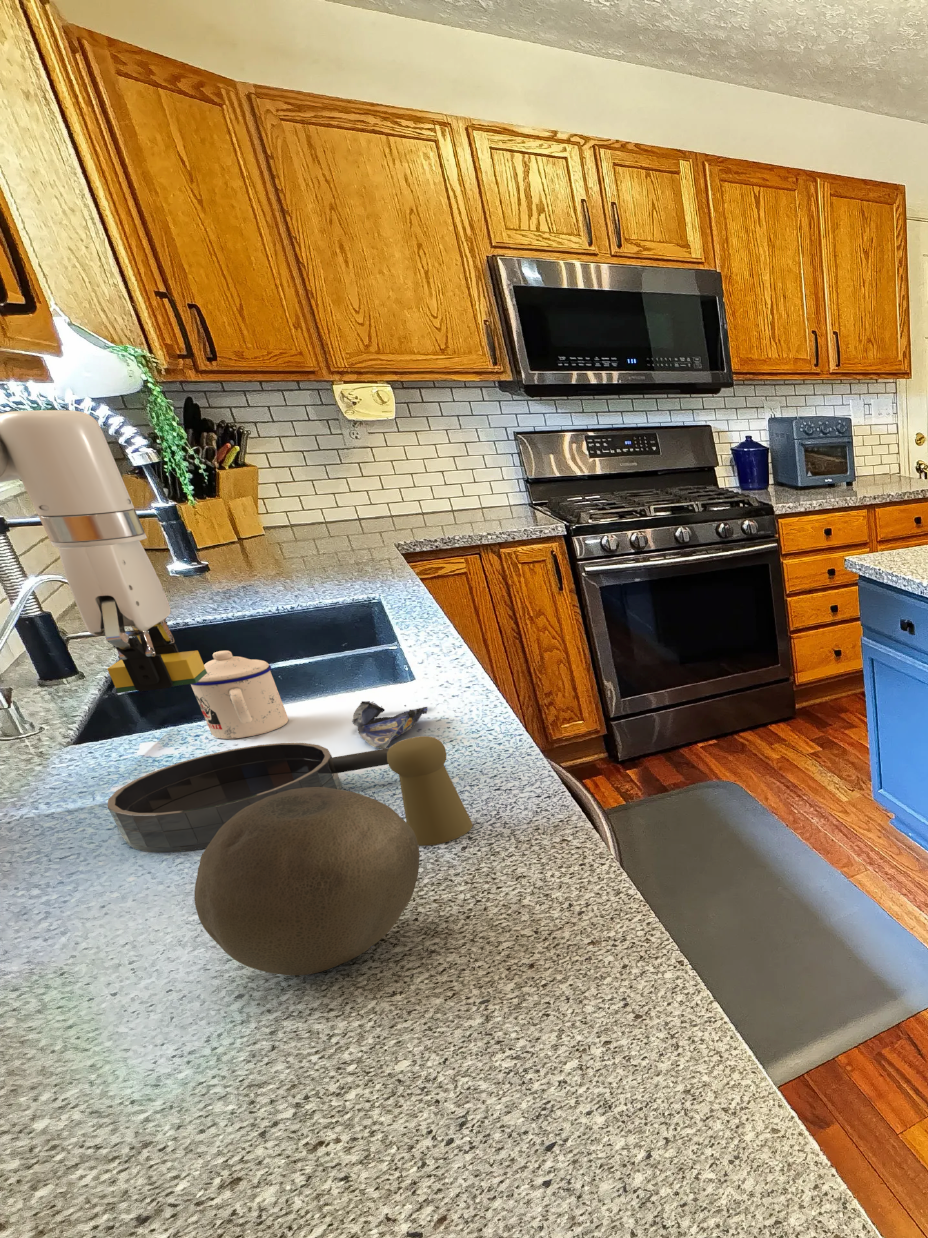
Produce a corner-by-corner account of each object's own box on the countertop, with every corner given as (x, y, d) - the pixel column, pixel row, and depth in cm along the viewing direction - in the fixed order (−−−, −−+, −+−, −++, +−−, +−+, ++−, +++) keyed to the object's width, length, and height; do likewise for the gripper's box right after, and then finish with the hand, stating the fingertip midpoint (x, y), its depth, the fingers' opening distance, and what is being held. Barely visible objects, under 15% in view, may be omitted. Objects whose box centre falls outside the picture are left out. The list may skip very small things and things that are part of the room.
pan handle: (327, 777, 96) (321, 762, 96) (329, 771, 98) (324, 756, 97) (444, 756, 102) (439, 742, 101) (445, 751, 103) (440, 737, 103)
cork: (464, 813, 93) (438, 725, 89) (479, 831, 89) (452, 740, 85) (403, 831, 89) (372, 740, 85) (415, 851, 85) (383, 757, 81)
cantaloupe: (311, 1028, 61) (237, 859, 55) (196, 986, 66) (116, 825, 60) (477, 923, 73) (431, 775, 67) (370, 894, 78) (318, 753, 72)
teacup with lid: (209, 727, 118) (177, 651, 113) (288, 712, 124) (260, 639, 119) (211, 751, 110) (176, 670, 105) (295, 734, 116) (266, 656, 111)
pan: (95, 870, 82) (74, 832, 80) (159, 796, 98) (144, 762, 96) (327, 824, 91) (313, 789, 89) (353, 763, 106) (342, 732, 104)
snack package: (318, 753, 110) (402, 750, 109) (307, 707, 108) (392, 704, 108) (384, 734, 121) (460, 731, 121) (375, 692, 120) (452, 689, 119)
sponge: (117, 693, 94) (106, 668, 93) (132, 682, 98) (121, 658, 96) (196, 683, 97) (186, 659, 96) (207, 673, 101) (198, 650, 100)
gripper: (81, 522, 95) (147, 669, 102) (10, 542, 82) (92, 710, 89) (165, 517, 99) (223, 660, 106) (110, 536, 85) (181, 698, 92)
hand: (162, 681), depth 97 cm, fingers closed on sponge, 4 cm apart
